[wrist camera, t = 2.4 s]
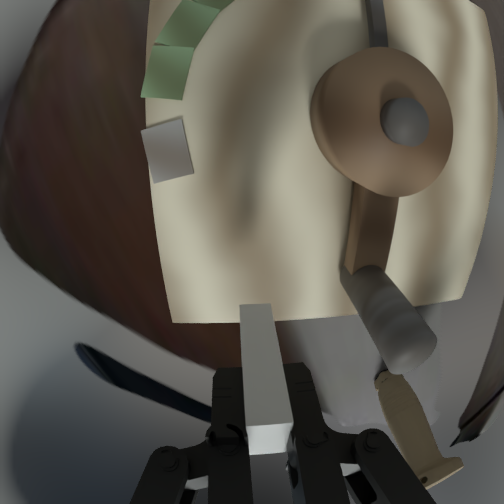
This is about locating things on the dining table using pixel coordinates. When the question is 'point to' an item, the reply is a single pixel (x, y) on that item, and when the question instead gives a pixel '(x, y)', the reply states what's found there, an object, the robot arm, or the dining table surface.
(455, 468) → the handle
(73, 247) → the dining table surface
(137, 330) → the dining table surface
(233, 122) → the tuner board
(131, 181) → the dining table surface
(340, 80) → the brown handled round piece
